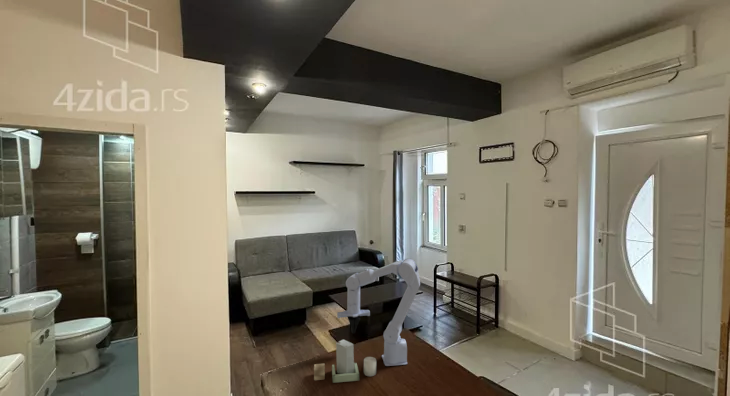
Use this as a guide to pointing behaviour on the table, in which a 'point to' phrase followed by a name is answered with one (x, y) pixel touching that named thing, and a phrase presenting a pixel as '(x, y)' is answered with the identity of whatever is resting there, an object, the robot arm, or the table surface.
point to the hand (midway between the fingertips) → (353, 332)
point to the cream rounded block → (369, 366)
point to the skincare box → (345, 357)
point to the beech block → (319, 371)
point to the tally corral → (345, 375)
